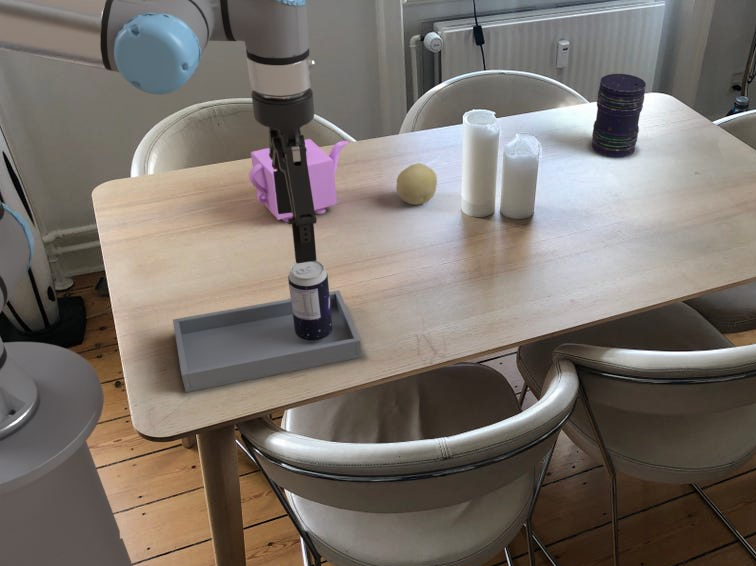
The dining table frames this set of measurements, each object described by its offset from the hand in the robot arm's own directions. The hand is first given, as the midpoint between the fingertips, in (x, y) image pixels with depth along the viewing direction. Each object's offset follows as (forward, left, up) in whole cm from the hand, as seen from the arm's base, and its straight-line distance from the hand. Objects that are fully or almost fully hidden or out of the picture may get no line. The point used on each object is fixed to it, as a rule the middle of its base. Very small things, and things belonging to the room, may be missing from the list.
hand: (296, 235), depth 117 cm
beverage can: (+1, -1, -18) cm, 18 cm away
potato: (+29, +35, -18) cm, 49 cm away
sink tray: (-6, -1, -18) cm, 19 cm away
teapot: (+8, +40, -18) cm, 45 cm away
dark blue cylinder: (+78, +46, -18) cm, 92 cm away
